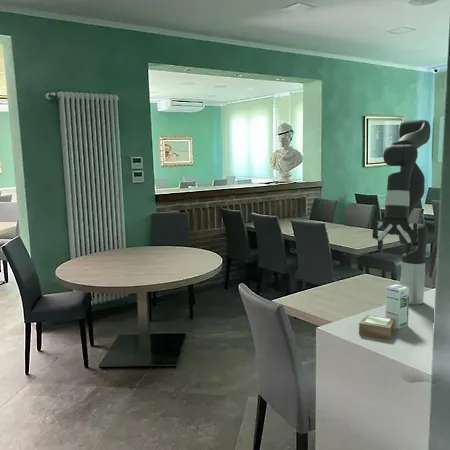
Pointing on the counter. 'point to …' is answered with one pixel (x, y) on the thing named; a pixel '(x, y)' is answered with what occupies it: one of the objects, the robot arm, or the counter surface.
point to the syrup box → (397, 304)
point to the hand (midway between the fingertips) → (393, 253)
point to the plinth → (377, 326)
